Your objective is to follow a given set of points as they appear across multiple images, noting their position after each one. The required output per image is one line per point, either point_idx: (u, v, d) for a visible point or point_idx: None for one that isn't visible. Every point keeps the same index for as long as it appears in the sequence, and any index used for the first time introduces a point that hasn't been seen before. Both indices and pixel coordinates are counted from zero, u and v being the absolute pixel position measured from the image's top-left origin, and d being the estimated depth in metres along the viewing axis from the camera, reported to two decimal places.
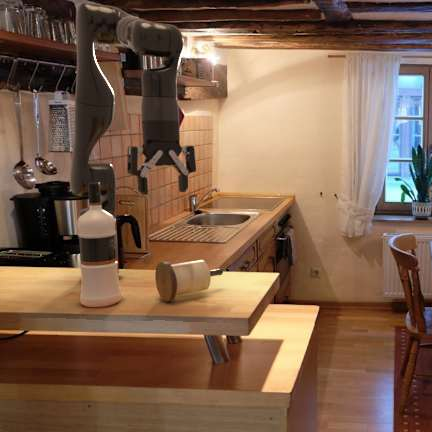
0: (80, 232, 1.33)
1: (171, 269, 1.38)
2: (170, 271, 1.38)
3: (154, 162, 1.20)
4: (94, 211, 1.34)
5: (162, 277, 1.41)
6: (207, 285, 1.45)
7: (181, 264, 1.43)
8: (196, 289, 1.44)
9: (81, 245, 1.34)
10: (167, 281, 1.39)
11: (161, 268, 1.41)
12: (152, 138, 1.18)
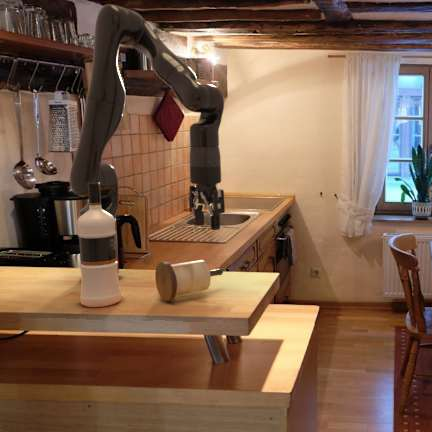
0: (80, 232, 1.33)
1: (171, 269, 1.38)
2: (170, 271, 1.38)
3: (195, 200, 1.44)
4: (94, 211, 1.34)
5: (162, 277, 1.41)
6: (207, 285, 1.45)
7: (181, 264, 1.43)
8: (196, 289, 1.44)
9: (81, 245, 1.34)
10: (167, 281, 1.39)
11: (161, 268, 1.41)
12: None
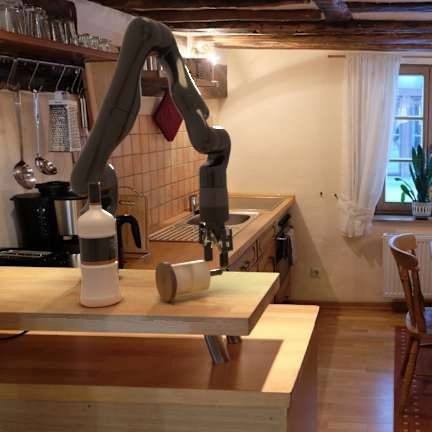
0: (80, 232, 1.33)
1: (171, 269, 1.38)
2: (170, 271, 1.38)
3: (205, 237, 1.50)
4: (94, 211, 1.34)
5: (162, 277, 1.41)
6: (207, 285, 1.45)
7: (181, 264, 1.43)
8: (196, 289, 1.44)
9: (81, 245, 1.34)
10: (167, 281, 1.39)
11: (161, 268, 1.41)
12: None
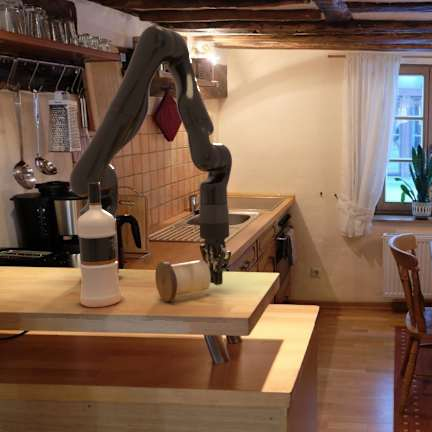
0: (80, 232, 1.33)
1: (171, 269, 1.38)
2: (170, 271, 1.38)
3: (207, 255, 1.49)
4: (94, 211, 1.34)
5: (162, 277, 1.41)
6: (207, 285, 1.45)
7: (181, 264, 1.43)
8: (196, 289, 1.44)
9: (81, 245, 1.34)
10: (167, 281, 1.39)
11: (161, 268, 1.41)
12: None
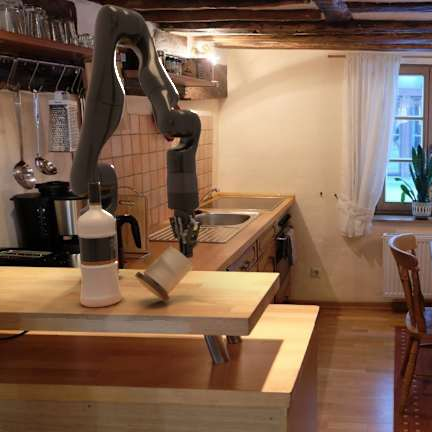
0: (80, 232, 1.33)
1: (147, 279, 1.34)
2: (148, 282, 1.34)
3: (176, 226, 1.42)
4: (94, 211, 1.34)
5: (146, 285, 1.39)
6: (190, 266, 1.42)
7: (154, 265, 1.38)
8: (183, 276, 1.41)
9: (81, 245, 1.34)
10: (153, 289, 1.36)
11: (139, 279, 1.37)
12: None
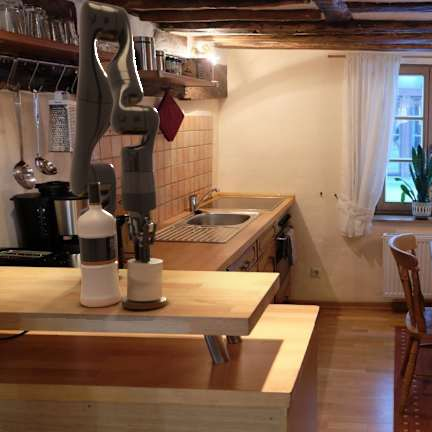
0: (80, 232, 1.33)
1: (133, 305, 1.33)
2: (135, 307, 1.33)
3: (131, 229, 1.35)
4: (94, 211, 1.34)
5: None
6: (159, 265, 1.36)
7: (129, 287, 1.34)
8: (160, 276, 1.37)
9: (81, 245, 1.34)
10: None
11: None
12: None
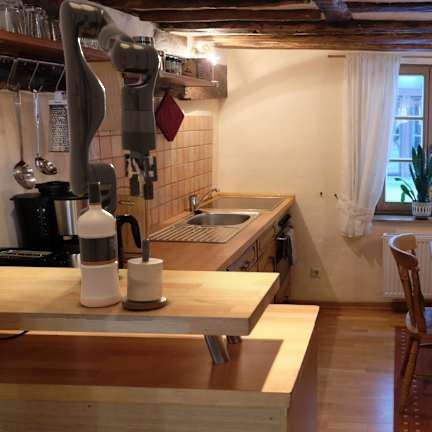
0: (80, 232, 1.33)
1: (133, 305, 1.33)
2: (135, 307, 1.33)
3: (129, 168, 1.35)
4: (94, 211, 1.34)
5: None
6: (159, 265, 1.36)
7: (129, 287, 1.34)
8: (160, 276, 1.37)
9: (81, 245, 1.34)
10: None
11: None
12: None
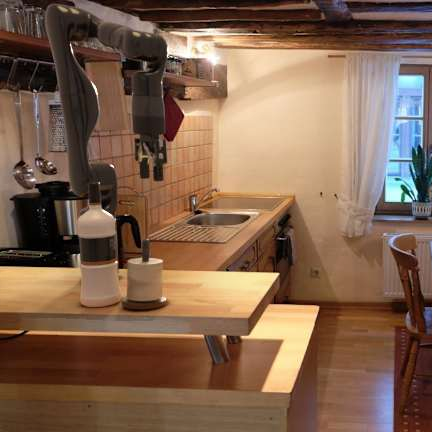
0: (80, 232, 1.33)
1: (133, 305, 1.33)
2: (135, 307, 1.33)
3: (139, 151, 1.42)
4: (94, 211, 1.34)
5: None
6: (159, 265, 1.36)
7: (129, 287, 1.34)
8: (160, 276, 1.37)
9: (81, 245, 1.34)
10: None
11: None
12: None
